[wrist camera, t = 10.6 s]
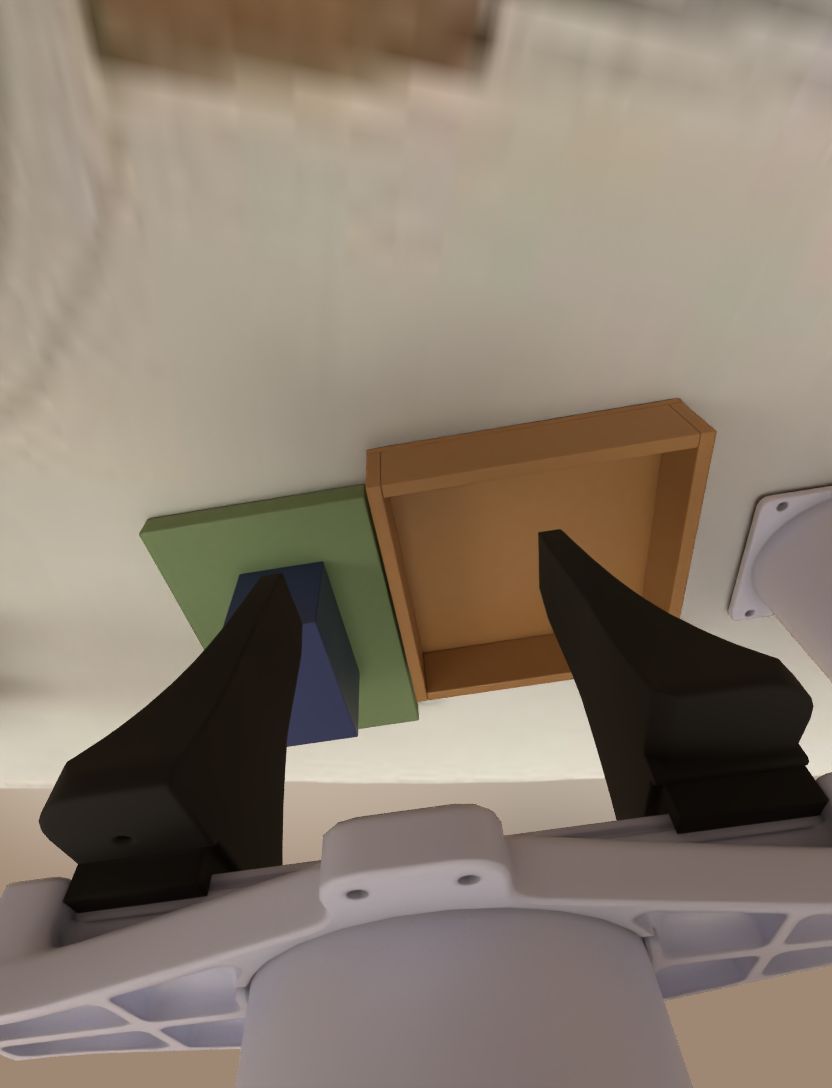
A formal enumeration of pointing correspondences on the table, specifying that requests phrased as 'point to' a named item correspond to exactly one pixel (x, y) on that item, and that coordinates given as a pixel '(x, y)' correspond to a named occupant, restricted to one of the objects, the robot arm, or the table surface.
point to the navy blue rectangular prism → (316, 657)
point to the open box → (530, 533)
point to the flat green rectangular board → (288, 540)
